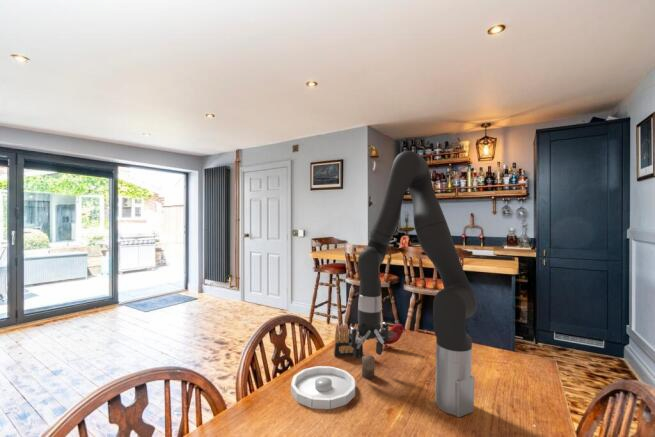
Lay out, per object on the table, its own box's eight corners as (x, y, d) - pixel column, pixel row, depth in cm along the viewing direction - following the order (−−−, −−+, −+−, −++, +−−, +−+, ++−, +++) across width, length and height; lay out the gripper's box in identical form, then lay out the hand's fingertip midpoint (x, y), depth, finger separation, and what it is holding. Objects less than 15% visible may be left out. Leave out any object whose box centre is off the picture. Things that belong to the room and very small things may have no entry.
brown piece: (376, 377, 105) (377, 359, 105) (366, 380, 103) (366, 361, 103) (369, 371, 108) (370, 354, 108) (359, 374, 107) (360, 356, 106)
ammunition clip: (361, 353, 122) (362, 322, 122) (362, 355, 121) (363, 324, 120) (334, 354, 121) (334, 323, 121) (334, 356, 119) (335, 324, 119)
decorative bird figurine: (405, 351, 125) (406, 325, 125) (360, 346, 128) (360, 321, 128) (405, 348, 128) (406, 323, 128) (361, 343, 131) (361, 319, 131)
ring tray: (367, 398, 93) (367, 389, 93) (306, 416, 84) (307, 406, 84) (335, 369, 110) (335, 361, 110) (283, 381, 101) (283, 374, 101)
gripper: (357, 314, 99) (355, 365, 100) (394, 308, 105) (392, 357, 106) (345, 307, 106) (343, 355, 106) (380, 302, 112) (379, 348, 113)
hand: (368, 356), depth 106 cm, fingers open, 8 cm apart
